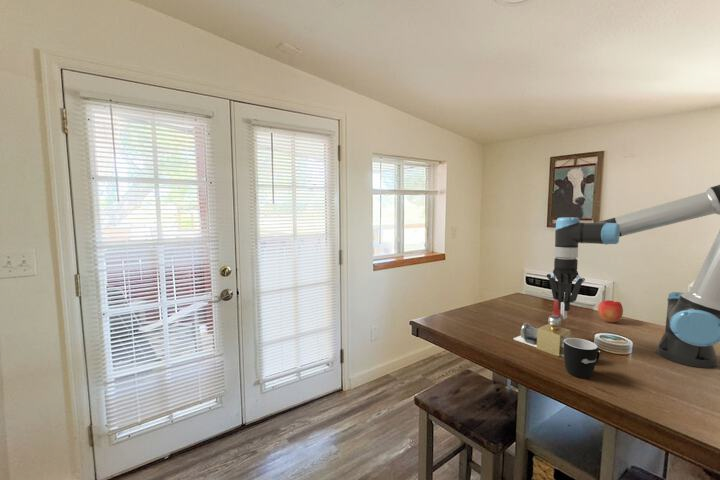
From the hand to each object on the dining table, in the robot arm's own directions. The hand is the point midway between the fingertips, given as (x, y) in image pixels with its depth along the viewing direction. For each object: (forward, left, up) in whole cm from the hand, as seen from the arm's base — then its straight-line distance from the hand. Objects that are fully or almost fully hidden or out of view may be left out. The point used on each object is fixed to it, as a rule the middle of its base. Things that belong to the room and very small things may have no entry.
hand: (563, 318), depth 128 cm
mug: (-14, +18, -11) cm, 25 cm away
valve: (0, +8, -10) cm, 13 cm away
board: (+1, +3, -10) cm, 11 cm away
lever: (+2, +2, -1) cm, 3 cm away
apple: (0, -44, -11) cm, 45 cm away
